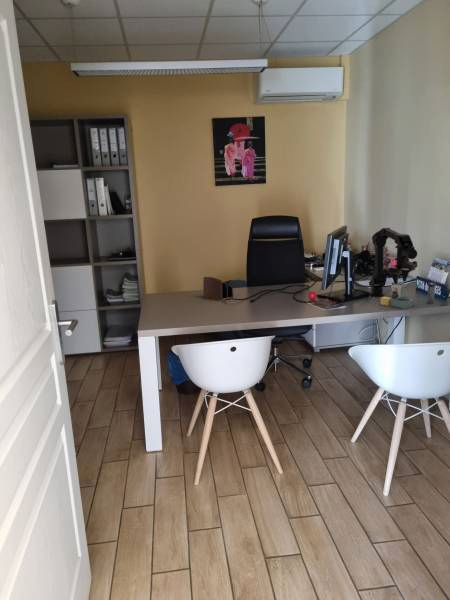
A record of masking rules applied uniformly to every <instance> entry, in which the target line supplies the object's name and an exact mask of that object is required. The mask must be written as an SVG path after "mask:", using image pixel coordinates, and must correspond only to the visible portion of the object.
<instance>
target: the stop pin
mask: <svg viewBox="0 0 450 600" xmlns="http://www.w3.org/2000/svg"><path fill="white" fill-rule="evenodd" d="M436 285H437V284H436V282H427V296H426V304H429V305H433V304H434V303H435V302H434V301H435V288H436Z"/></svg>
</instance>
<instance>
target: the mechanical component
mask: <svg viewBox="0 0 450 600" xmlns="http://www.w3.org/2000/svg"><path fill="white" fill-rule="evenodd" d="M392 285H400V286H403V287H402V288H401V292H403V289H405V290H406V289H409V286H410V282H407V281H406V283H405V284H404V282H403V281H398V282H397V284H395V283H394V281H392V282H391V286H392ZM395 290H398V288H395Z"/></svg>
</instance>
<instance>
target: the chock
mask: <svg viewBox="0 0 450 600" xmlns="http://www.w3.org/2000/svg"><path fill="white" fill-rule="evenodd" d="M391 299H392V298H391V297H388V296H381V297H380V305H384V306H391Z"/></svg>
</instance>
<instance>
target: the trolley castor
mask: <svg viewBox="0 0 450 600" xmlns="http://www.w3.org/2000/svg"><path fill="white" fill-rule="evenodd" d="M402 287H404V286H400V285H398V284H396V285H392V284H391V285H390V288H391V294H390V295H391V297H390V298H392V299H395V298H398V297H402V291H401V288H402ZM395 288H398V289H397V291H396V289H395Z"/></svg>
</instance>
